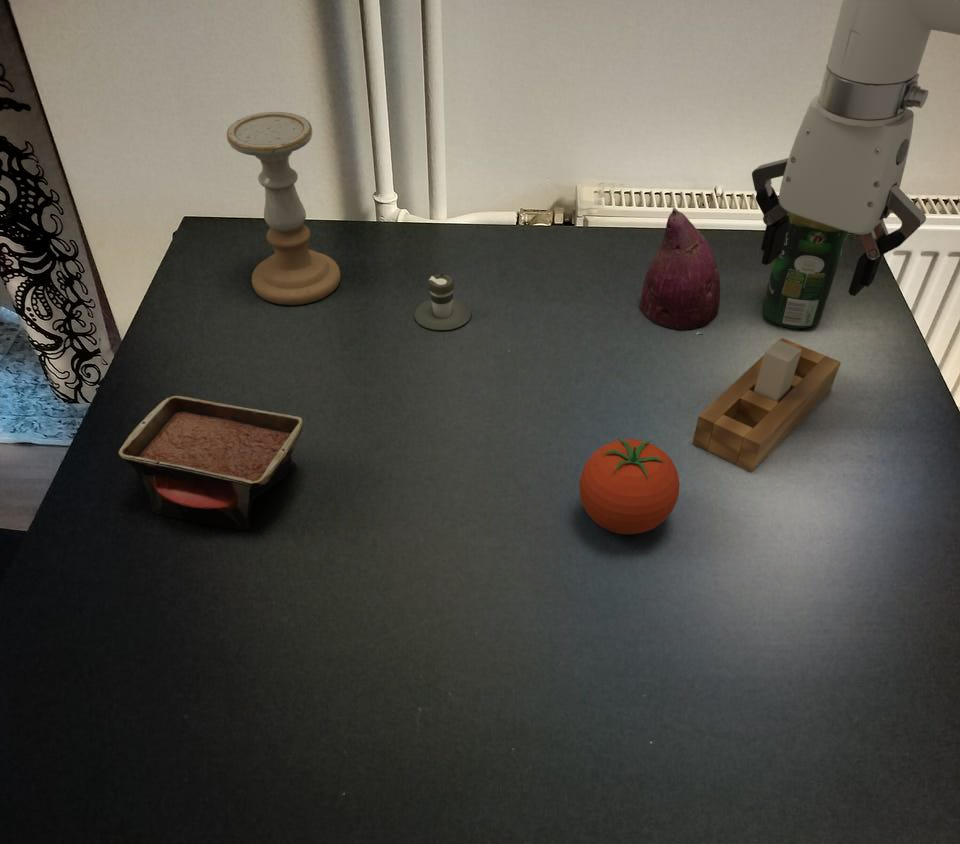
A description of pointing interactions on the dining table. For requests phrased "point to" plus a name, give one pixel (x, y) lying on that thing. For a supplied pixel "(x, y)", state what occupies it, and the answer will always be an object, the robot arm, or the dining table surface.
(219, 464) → the baking dish
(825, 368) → the peg block
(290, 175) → the candle holder
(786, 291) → the coffee jar
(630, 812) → the dining table surface
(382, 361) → the dining table surface
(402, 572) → the dining table surface
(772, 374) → the peg
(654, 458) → the tomato
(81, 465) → the dining table surface
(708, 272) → the vegetable
